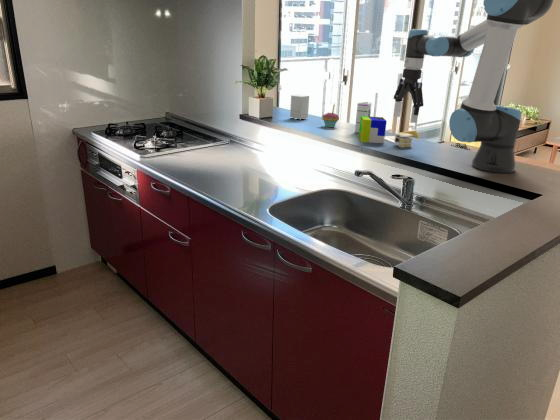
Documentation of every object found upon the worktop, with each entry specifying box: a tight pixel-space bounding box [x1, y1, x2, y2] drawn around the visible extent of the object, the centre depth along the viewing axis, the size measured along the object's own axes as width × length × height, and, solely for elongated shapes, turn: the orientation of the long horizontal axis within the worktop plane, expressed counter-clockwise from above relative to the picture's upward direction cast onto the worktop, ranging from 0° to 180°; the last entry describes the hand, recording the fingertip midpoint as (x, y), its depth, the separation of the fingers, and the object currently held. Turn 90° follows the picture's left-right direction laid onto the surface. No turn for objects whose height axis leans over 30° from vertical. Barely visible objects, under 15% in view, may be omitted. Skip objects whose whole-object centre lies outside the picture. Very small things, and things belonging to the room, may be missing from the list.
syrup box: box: [354, 101, 372, 134], centre depth 236 cm, size 6×6×14 cm
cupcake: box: [321, 102, 340, 128], centre depth 245 cm, size 9×8×12 cm
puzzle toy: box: [358, 116, 388, 144], centre depth 219 cm, size 10×10×10 cm
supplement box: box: [289, 94, 310, 121], centre depth 263 cm, size 7×7×13 cm
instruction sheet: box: [384, 135, 397, 144], centre depth 225 cm, size 13×9×1 cm
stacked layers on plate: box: [394, 132, 414, 148], centre depth 212 cm, size 10×9×6 cm
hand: (405, 119), depth 209 cm, fingers open, 13 cm apart
